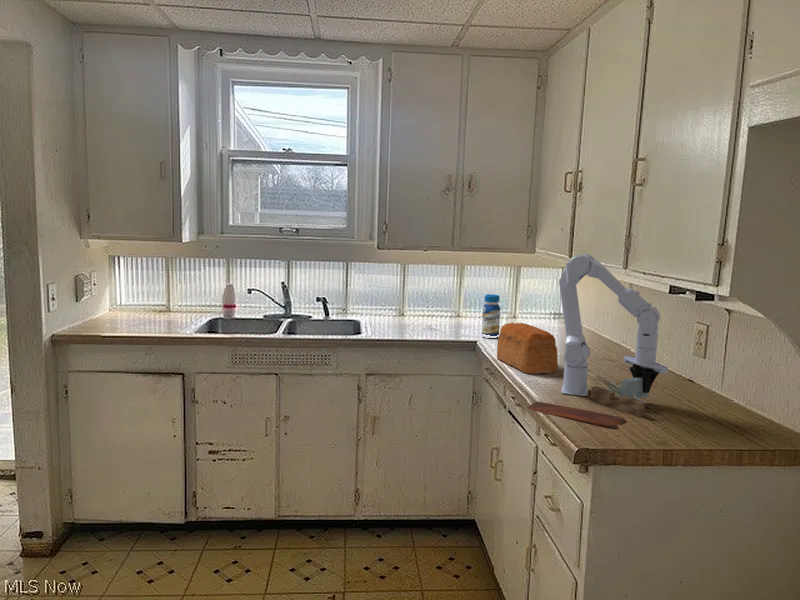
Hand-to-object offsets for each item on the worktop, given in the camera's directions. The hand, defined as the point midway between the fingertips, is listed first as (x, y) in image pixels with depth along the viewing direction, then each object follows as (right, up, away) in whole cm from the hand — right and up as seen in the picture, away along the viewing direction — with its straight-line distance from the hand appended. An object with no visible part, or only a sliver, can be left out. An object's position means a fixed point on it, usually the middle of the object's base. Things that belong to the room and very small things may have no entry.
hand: (642, 391), depth 178 cm
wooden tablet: (-24, -6, -11) cm, 27 cm away
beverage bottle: (-31, +10, +96) cm, 102 cm away
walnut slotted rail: (-10, -4, -5) cm, 12 cm away
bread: (-26, +3, +45) cm, 52 cm away
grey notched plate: (-3, -2, -1) cm, 4 cm away
